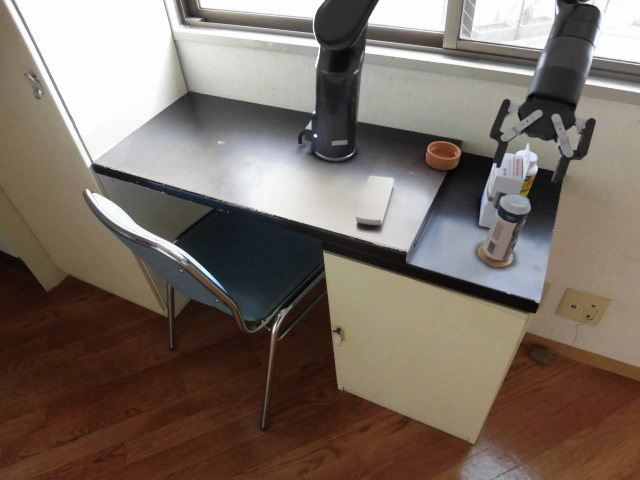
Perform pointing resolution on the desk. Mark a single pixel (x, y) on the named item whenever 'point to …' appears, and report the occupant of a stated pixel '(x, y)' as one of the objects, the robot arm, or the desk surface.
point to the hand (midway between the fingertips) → (525, 174)
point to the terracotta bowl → (443, 155)
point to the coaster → (491, 261)
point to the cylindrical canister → (506, 226)
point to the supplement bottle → (529, 172)
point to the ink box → (503, 184)
